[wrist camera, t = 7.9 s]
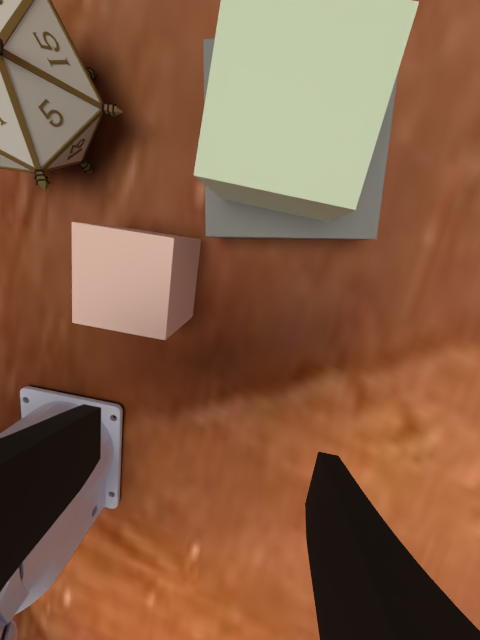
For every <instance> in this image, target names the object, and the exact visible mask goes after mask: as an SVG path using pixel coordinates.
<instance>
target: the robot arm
mask: <svg viewBox="0 0 480 640" xmlns="http://www.w3.org/2000/svg"><path fill="white" fill-rule="evenodd" d="M27 398H28V399H29V400H28V399H27ZM20 401H21V415H22V419H21V420H19V421H18V422H16V423H15V424H13V425H12V426H10V427H9V428H7V429H6V430H5V431H3V432H2V433H0V640H16V639H17V626H16V623H15V622H14V621H13V620H12V618H13V616H14V615H15V614H17V613H19V612H21V611H22V610H24V609H25V608H27V607H28V606H30V605H31V604H32V603H34V602H35V601H36V600H37V599H39V598H40V597H41V596H42V595H43V594H44V593H45V592H46V591H47V590H48V589H49V588H50V587H51V586H52V584H53V583H54V582H55V581H56V579H57V578H58V576H59V575H60V573H61V572H62V570H63V569H64V567H65V566H66V564H67V563H68V561H69V560H70V558H71V557H72V555H73V554H74V552H75V551H76V549H77V548H78V546H79V545H80V543H81V542H82V540H83V539H84V537H85V536H86V534H87V533H88V531H89V529H90V528H91V526H92V525H93V523H94V522H95V520H96V519H97V517H98V516H99V514H100V513H101V511H102V510H103V508H104V507H107V508H111V509H114V508H116V507H117V506H118V504H119V501H120V473H121V445H122V417H123V410H122V407H121V406H120V405H118V404H115V403H110V402H105V401H100V400H95V399H90V398H85V397H80V396H75V395H70V394H65V393H60V392H56V391H51V390H46V389H41V388H36V387H31V386H26V387H24V388H22V389H21V390H20ZM113 415H115V416H116V417H117V418H115V417H114V416H113ZM305 507H306V538H307V548H308V555H309V563H310V570H311V577H312V585H313V592H314V599H315V606H316V614H317V621H318V628H319V635H320V640H480V631H479V630H478V629H477V628H476V627H475V626H474V625H473V624H472V623H471V621H470V620H469V619H468V618H467V617H466V616H465V615H464V614H463V613H462V612H461V611H460V610H459V609H458V608H457V607H456V606H455V604H454V603H453V602H452V601H451V600H450V599H449V598H448V597H447V595H446V594H445V593H444V592H443V591H442V590H441V589H440V588H439V587H438V585H437V584H436V583H435V582H434V581H433V580H432V579H431V578H430V577H429V575H428V574H427V573H426V572H425V571H424V570H423V568H422V567H421V566H420V565H419V564H418V563H417V561H416V560H415V559H414V558H413V557H412V555H411V554H410V553H409V552H408V550H407V549H406V548H405V547H404V545H403V544H402V543H401V542H400V540H399V539H398V538H397V537H396V536H395V534H394V533H393V532H392V530H391V529H390V528H389V526H388V525H387V524H386V523H385V521H384V520H383V519H382V517H381V516H380V515H379V513H378V512H377V511H376V509H375V508H374V506H373V505H372V504H371V502H370V501H369V500H368V498H367V497H366V495H365V494H364V492H363V491H362V490H361V488H360V487H359V485H358V484H357V482H356V481H355V479H354V478H353V477H352V475H351V474H350V472H349V471H348V469H347V468H346V466H345V465H344V463H343V462H342V461H341V459H340V458H339V456H337V455H332V454H327V453H322V452H318V455H317V459H316V463H315V467H314V471H313V475H312V479H311V483H310V487H309V491H308V495H307V499H306V503H305Z"/></svg>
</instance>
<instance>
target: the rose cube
mask: <svg viewBox="0 0 480 640" xmlns="http://www.w3.org/2000/svg"><path fill="white" fill-rule="evenodd" d="M200 246H201V239H196V238H189V237H183V236H177V235H171V234H164V233H158V232H152V231H145V230H139V229H133V228H126V227H118V226H108V225H99V224H89V223H79V222H72V323H77V324H82V325H87V326H93V327H98V328H103V329H108V330H114V331H119V332H124V333H129V334H135V335H140V336H145V337H151V338H156V339H161V340H166V339H167V338H169V337H170V336H171V335H172V334H173V333H174V332H176V331H177V330H178V329H179V328H180V327H181V326H183V325H184V324H185V323H186V322H187V321H188V320H189V319H191V318H192V317H193V309H194V300H195V291H196V282H197V273H198V264H199V255H200Z"/></svg>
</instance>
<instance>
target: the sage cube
mask: <svg viewBox="0 0 480 640" xmlns="http://www.w3.org/2000/svg"><path fill="white" fill-rule="evenodd" d="M418 4H419V2H418V1H412V0H221V3H220V10H219V16H218V23H217V29H216V35H215V42H214V48H213V54H212V61H211V67H210V74H209V80H208V86H207V93H206V99H205V105H204V112H203V118H202V124H201V131H200V137H199V144H198V150H197V156H196V163H195V169H194V176H195V177H196V178H197V179H199V180H200V181H201V182H202V183H203V184H205V185H206V186H207V187H208V188H210V189H211V190H212V191H213V192H215V193H216V194H217V195H218V196H219V197H221V198H222V199H224V200H228V201H233V202H238V203H242V204H247V205H251V206H256V207H261V208H265V209H270V210H274V211H279V212H284V213H288V214H293V215H297V216H302V217H306V218H311V219H316V220H320V221H325V222H329V221H332V220H334V219H336V218H338V217H341V216H343V215H345V214H348V213H350V212H352V211H354V210H356V207H357V204H358V200H359V197H360V194H361V190H362V187H363V184H364V181H365V177H366V174H367V171H368V168H369V164H370V161H371V158H372V154H373V151H374V148H375V145H376V141H377V138H378V135H379V132H380V128H381V125H382V122H383V118H384V115H385V112H386V109H387V105H388V102H389V99H390V96H391V92H392V89H393V86H394V83H395V79H396V76H397V73H398V69H399V66H400V63H401V60H402V56H403V53H404V50H405V47H406V43H407V40H408V37H409V33H410V30H411V27H412V24H413V20H414V17H415V14H416V11H417V7H418Z"/></svg>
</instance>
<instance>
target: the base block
mask: <svg viewBox="0 0 480 640" xmlns="http://www.w3.org/2000/svg"><path fill="white" fill-rule="evenodd" d="M203 41H204V105H205V99H206V93H207V86H208V80H209V74H210V67H211V61H212V54H213V48H214V42H215V39H203ZM397 77H398V73H397V76H396V79H395V83H394V86H393V89H392V92H391V96H390V99H389V102H388V105H387V109H386V112H385V115H384V118H383V122H382V125H381V128H380V132H379V135H378V138H377V141H376V145H375V148H374V151H373V154H372V158H371V161H370V164H369V168H368V171H367V174H366V177H365V181H364V184H363V187H362V190H361V194H360V197H359V200H358V204H357V207H356V210H354V211H352V212H350V213H348V214H345V215H343V216H341V217H338V218H336V219H334V220H332V221H329V222H325V221H320V220H316V219H311V218H306V217H302V216H297V215H293V214H288V213H284V212H279V211H274V210H270V209H265V208H261V207H256V206H251V205H247V204H242V203H238V202H233V201H228V200H224V199H222V198H221V197H219V196H218V195H217V194H216V193H215V192H213V191H212V190H211V189H210V188H208V187H207V186H206V185H205V218H206V236H207V237H216V238H249V239H312V240H368V239H377V231H378V224H379V216H380V208H381V200H382V193H383V185H384V177H385V170H386V162H387V154H388V146H389V139H390V131H391V123H392V115H393V108H394V100H395V92H396V85H397Z"/></svg>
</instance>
